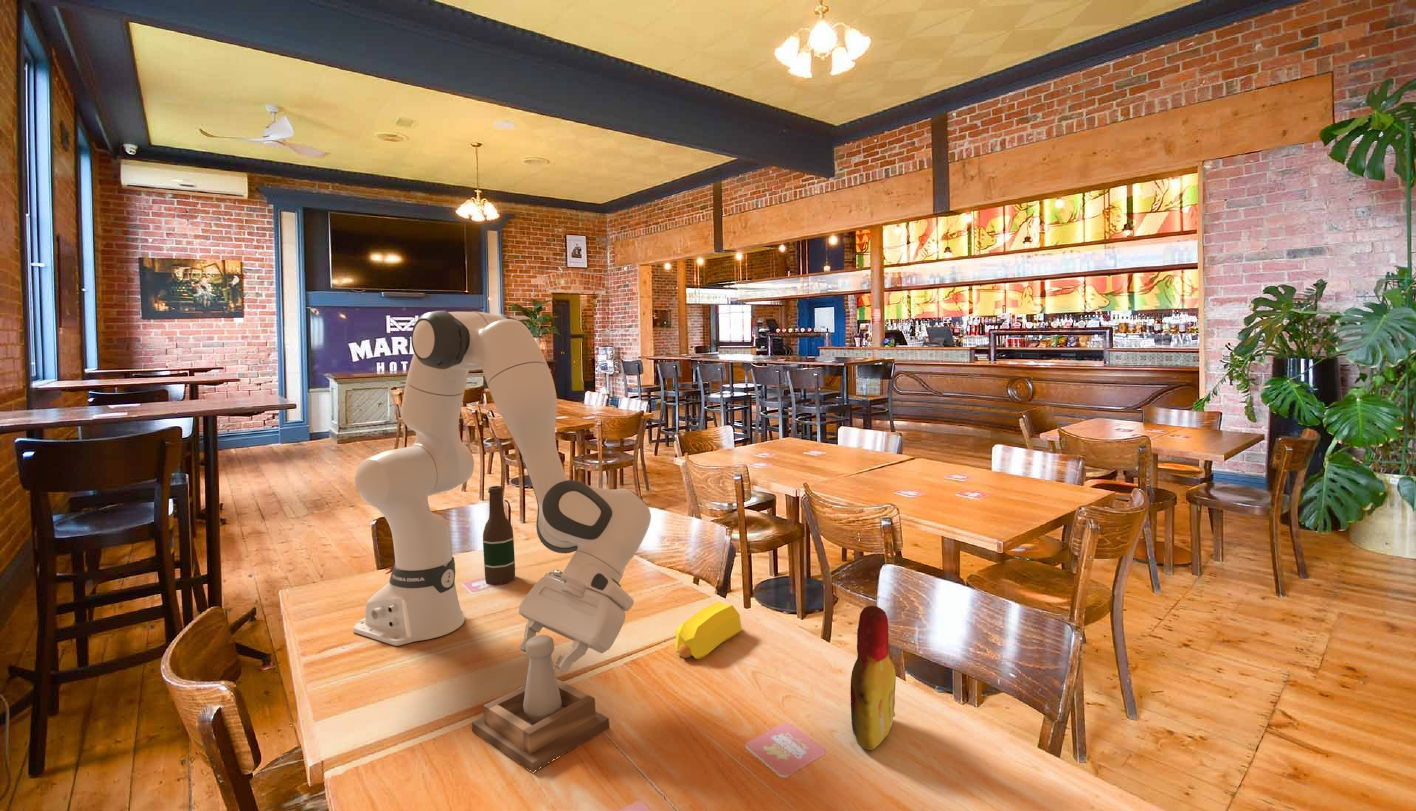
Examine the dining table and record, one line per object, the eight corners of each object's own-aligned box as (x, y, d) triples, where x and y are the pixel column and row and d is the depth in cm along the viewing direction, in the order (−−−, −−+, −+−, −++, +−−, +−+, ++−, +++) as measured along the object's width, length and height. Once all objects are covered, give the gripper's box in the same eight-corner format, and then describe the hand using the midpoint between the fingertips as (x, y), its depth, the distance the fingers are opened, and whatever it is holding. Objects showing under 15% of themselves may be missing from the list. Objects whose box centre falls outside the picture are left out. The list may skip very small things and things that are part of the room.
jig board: (472, 731, 103) (470, 703, 103) (547, 693, 114) (545, 668, 114) (533, 772, 93) (531, 742, 93) (609, 727, 104) (608, 699, 103)
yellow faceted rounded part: (665, 657, 126) (698, 668, 122) (664, 623, 126) (697, 633, 121) (718, 623, 141) (749, 631, 137) (717, 592, 140) (749, 600, 136)
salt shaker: (554, 730, 100) (550, 648, 99) (518, 728, 101) (513, 646, 100) (567, 709, 106) (563, 630, 105) (532, 707, 107) (528, 629, 106)
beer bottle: (493, 573, 173) (487, 483, 171) (521, 574, 172) (516, 483, 170) (478, 585, 166) (473, 490, 163) (508, 585, 165) (503, 490, 162)
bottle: (883, 763, 94) (884, 626, 92) (839, 750, 96) (839, 618, 94) (901, 719, 104) (902, 595, 102) (860, 709, 107) (861, 589, 105)
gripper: (539, 558, 114) (491, 632, 108) (619, 585, 101) (570, 672, 95) (561, 576, 118) (516, 649, 112) (641, 604, 105) (595, 689, 99)
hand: (541, 660), depth 103 cm, fingers open, 8 cm apart
